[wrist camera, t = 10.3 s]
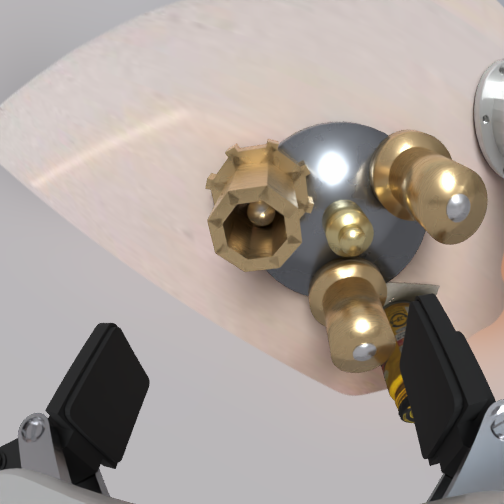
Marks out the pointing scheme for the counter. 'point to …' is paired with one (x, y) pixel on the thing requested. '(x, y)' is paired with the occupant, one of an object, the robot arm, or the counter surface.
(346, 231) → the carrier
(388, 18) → the counter surface
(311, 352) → the counter surface
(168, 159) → the counter surface
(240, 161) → the gold hollow octagonal piece
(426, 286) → the condiment
